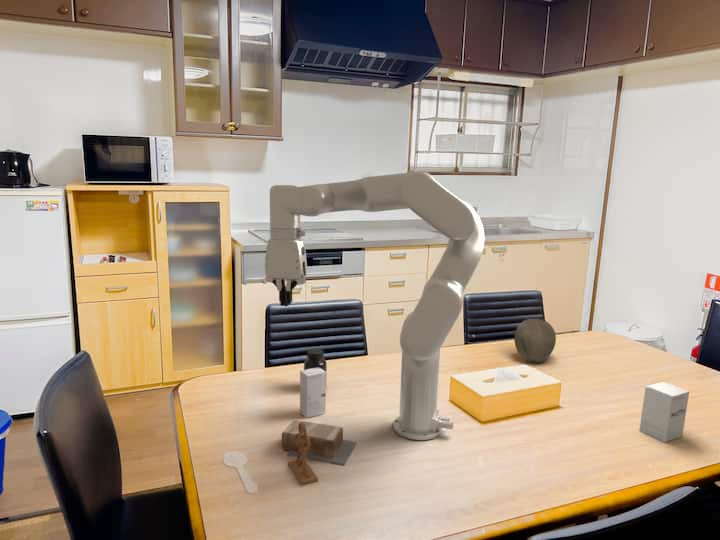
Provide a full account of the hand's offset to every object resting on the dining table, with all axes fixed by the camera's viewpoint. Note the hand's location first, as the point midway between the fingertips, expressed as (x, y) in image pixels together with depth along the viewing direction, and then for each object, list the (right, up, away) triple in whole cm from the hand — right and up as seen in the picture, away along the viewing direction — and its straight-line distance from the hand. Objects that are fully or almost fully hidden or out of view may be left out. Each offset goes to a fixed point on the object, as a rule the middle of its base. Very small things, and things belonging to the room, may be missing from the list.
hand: (285, 304), depth 136 cm
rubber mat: (+10, -34, -10) cm, 37 cm away
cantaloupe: (+81, -23, +51) cm, 98 cm away
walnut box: (+2, -31, -8) cm, 32 cm away
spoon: (-7, -36, -19) cm, 42 cm away
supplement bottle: (+6, -27, +24) cm, 37 cm away
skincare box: (+6, -30, +8) cm, 32 cm away
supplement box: (+97, -34, +1) cm, 103 cm away
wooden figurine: (+7, -36, -20) cm, 42 cm away
